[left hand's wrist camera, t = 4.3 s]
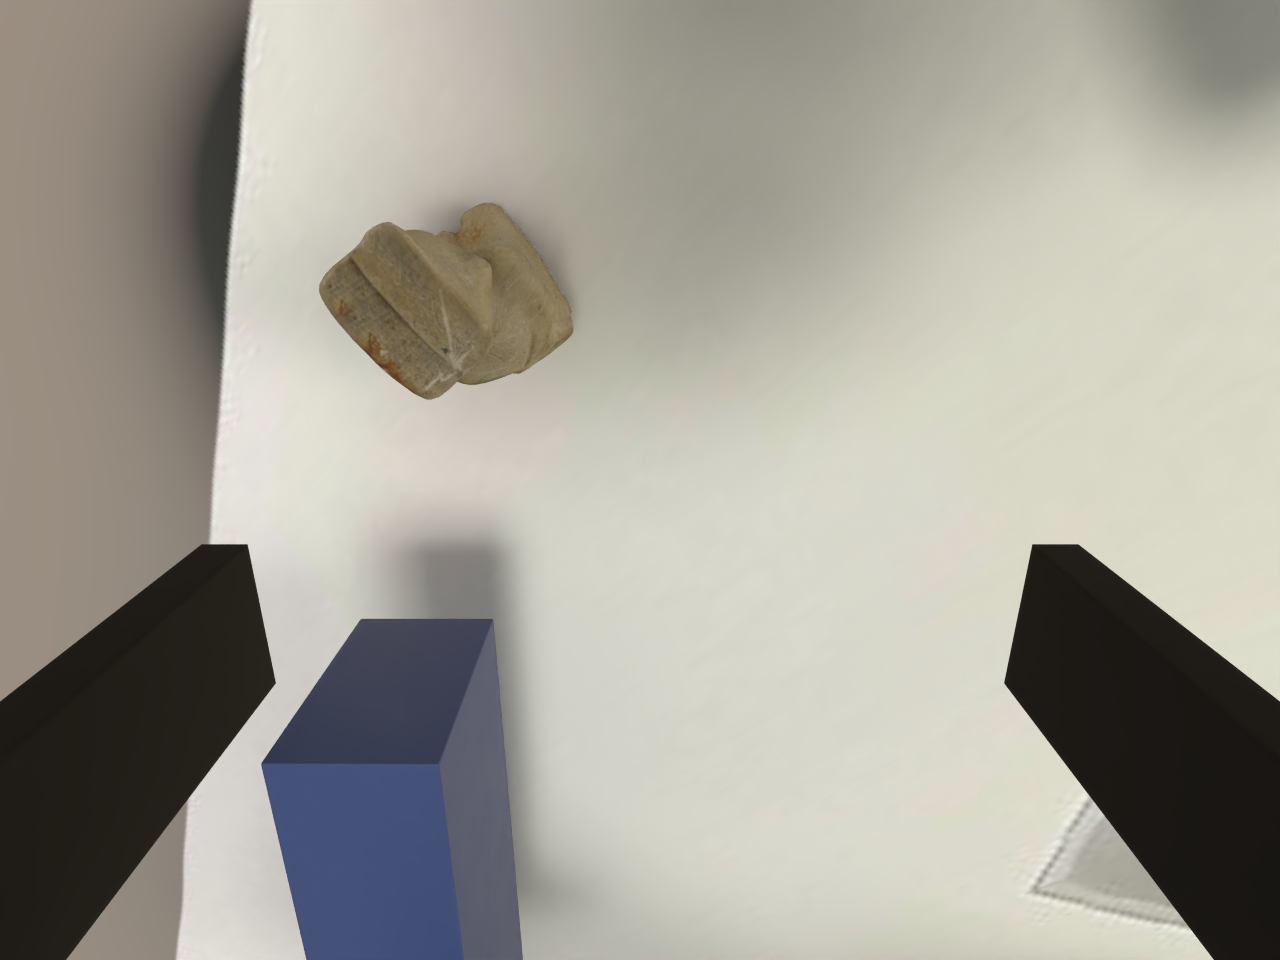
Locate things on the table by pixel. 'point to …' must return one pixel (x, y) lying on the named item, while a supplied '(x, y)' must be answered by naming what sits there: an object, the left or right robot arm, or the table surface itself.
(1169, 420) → the table surface
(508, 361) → the sculpture
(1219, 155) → the table surface
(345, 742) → the bar
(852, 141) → the table surface
